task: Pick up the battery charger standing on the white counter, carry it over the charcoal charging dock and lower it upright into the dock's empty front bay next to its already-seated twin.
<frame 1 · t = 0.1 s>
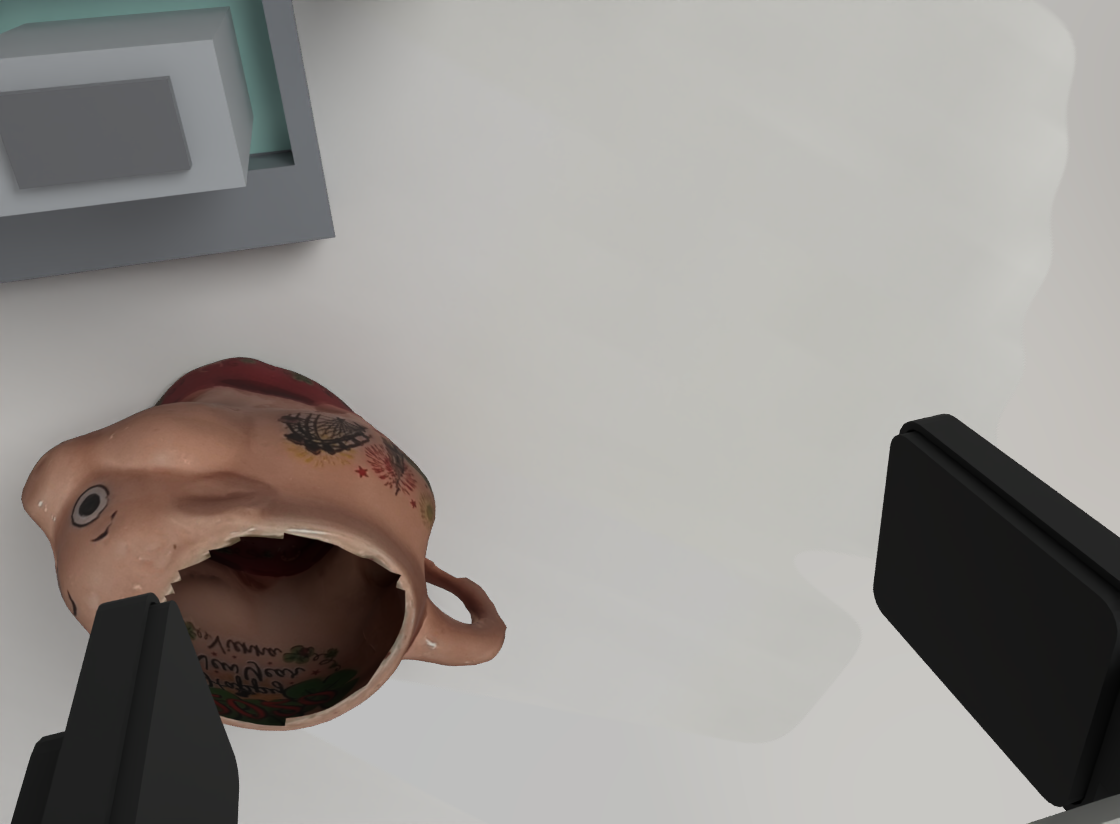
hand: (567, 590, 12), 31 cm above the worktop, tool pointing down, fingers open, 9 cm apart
decorative planter: (290, 452, 44), on the worktop
dock: (0, 82, 34), on the worktop
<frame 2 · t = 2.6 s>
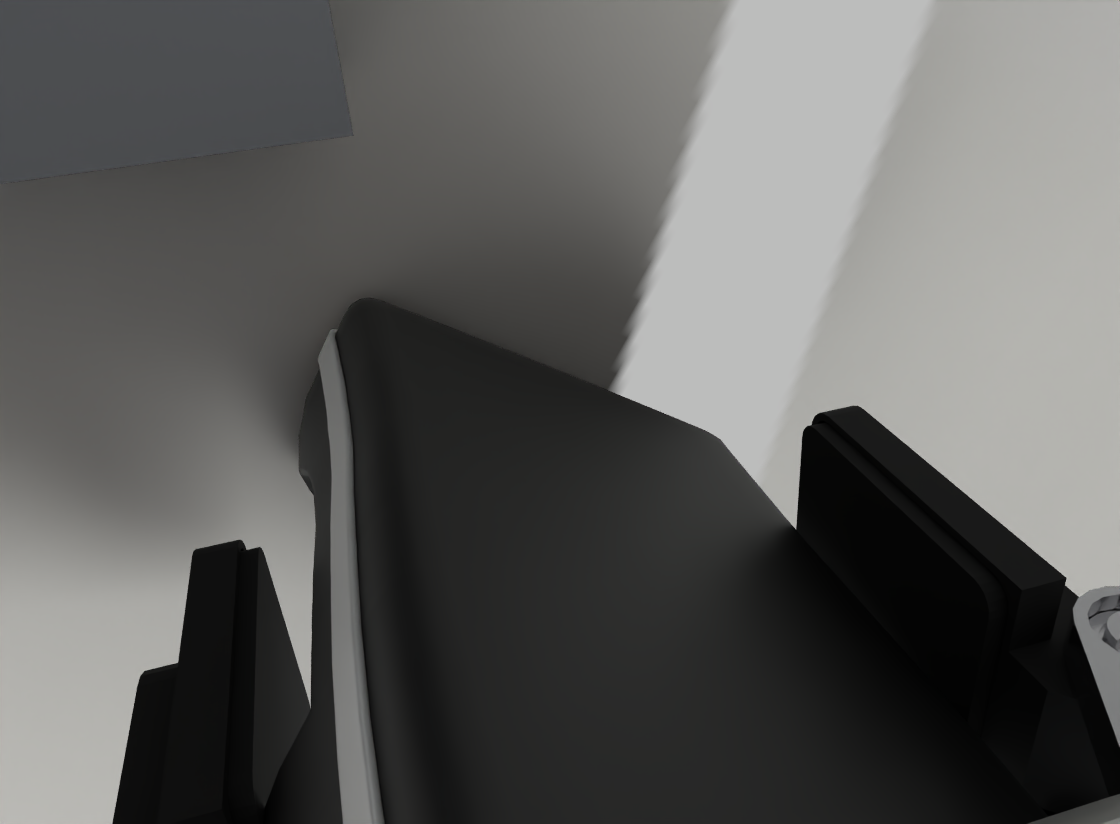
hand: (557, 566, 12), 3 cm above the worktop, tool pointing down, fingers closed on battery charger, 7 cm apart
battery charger: (495, 455, 15), on the worktop, touching gripper
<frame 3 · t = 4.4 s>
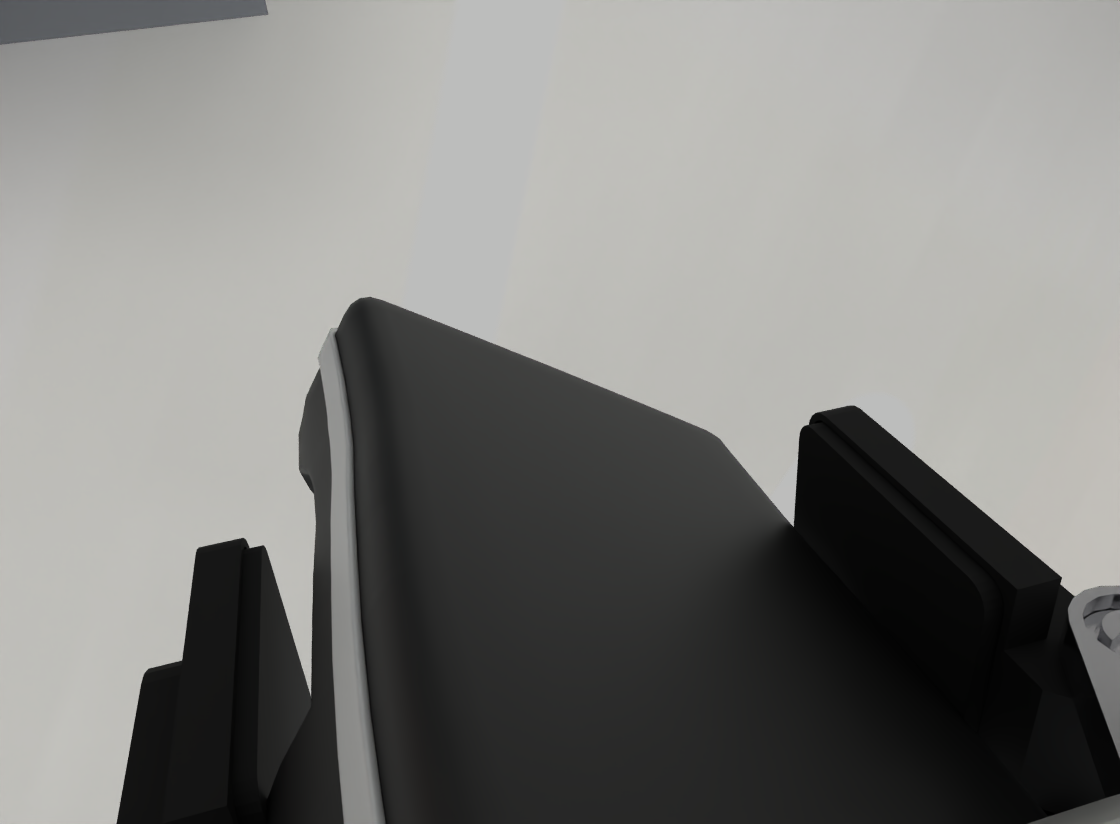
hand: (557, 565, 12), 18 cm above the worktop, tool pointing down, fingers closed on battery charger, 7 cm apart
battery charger: (495, 454, 15), point 15 cm above the worktop, touching gripper
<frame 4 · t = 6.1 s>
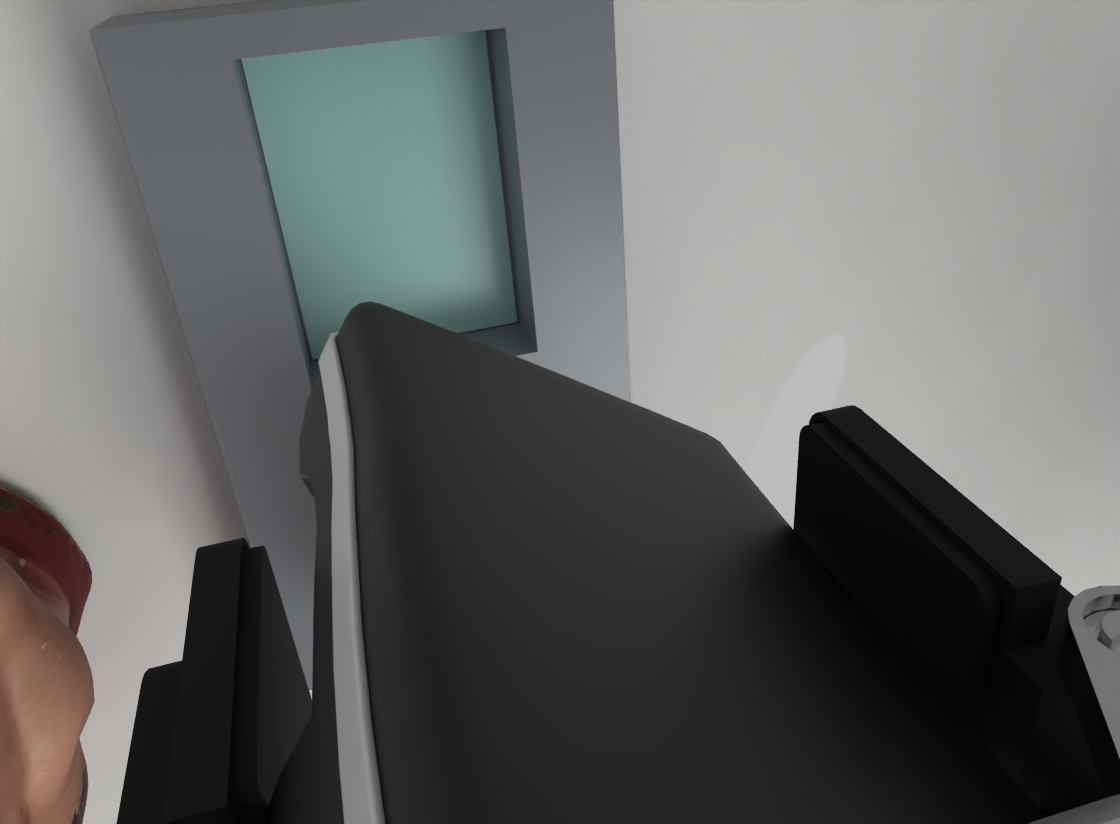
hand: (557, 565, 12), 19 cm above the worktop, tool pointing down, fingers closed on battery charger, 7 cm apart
dock: (415, 342, 31), on the worktop
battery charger: (496, 457, 15), point 16 cm above the worktop, touching gripper
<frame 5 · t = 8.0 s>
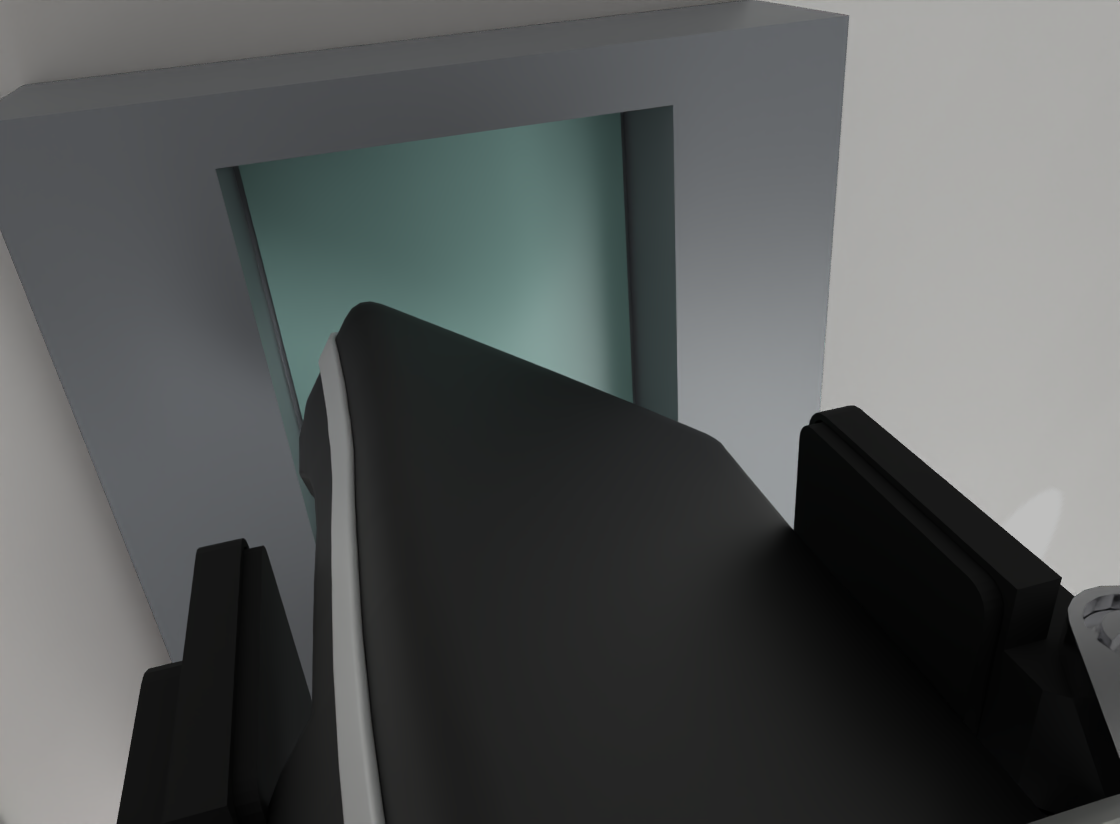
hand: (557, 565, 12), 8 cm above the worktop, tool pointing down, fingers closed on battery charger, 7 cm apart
dock: (488, 533, 22), on the worktop
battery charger: (496, 457, 15), point 5 cm above the worktop, touching gripper
when the fingers open (5 cm above the worktop, at t = 9.3 s): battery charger stays where it is, resting on dock.
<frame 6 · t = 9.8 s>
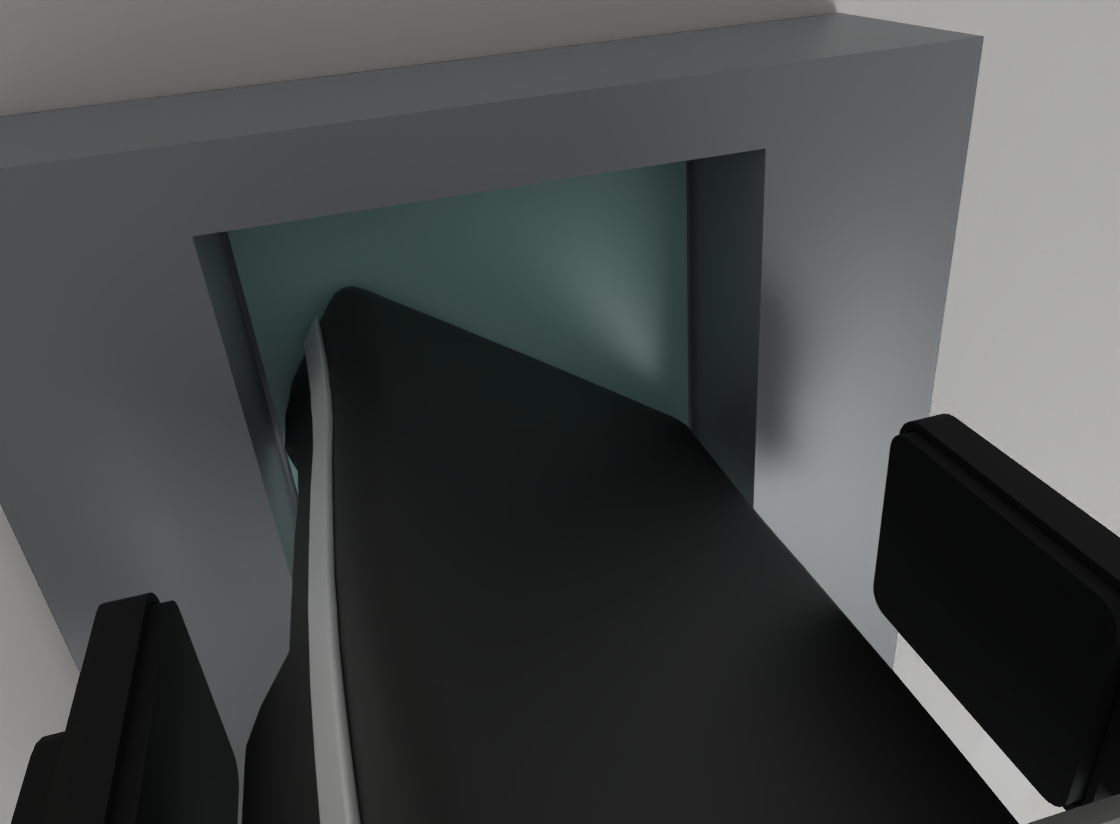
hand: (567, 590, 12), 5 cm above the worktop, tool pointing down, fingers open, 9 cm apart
dock: (516, 624, 19), on the worktop
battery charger: (473, 438, 15), point 1 cm above the worktop, touching dock
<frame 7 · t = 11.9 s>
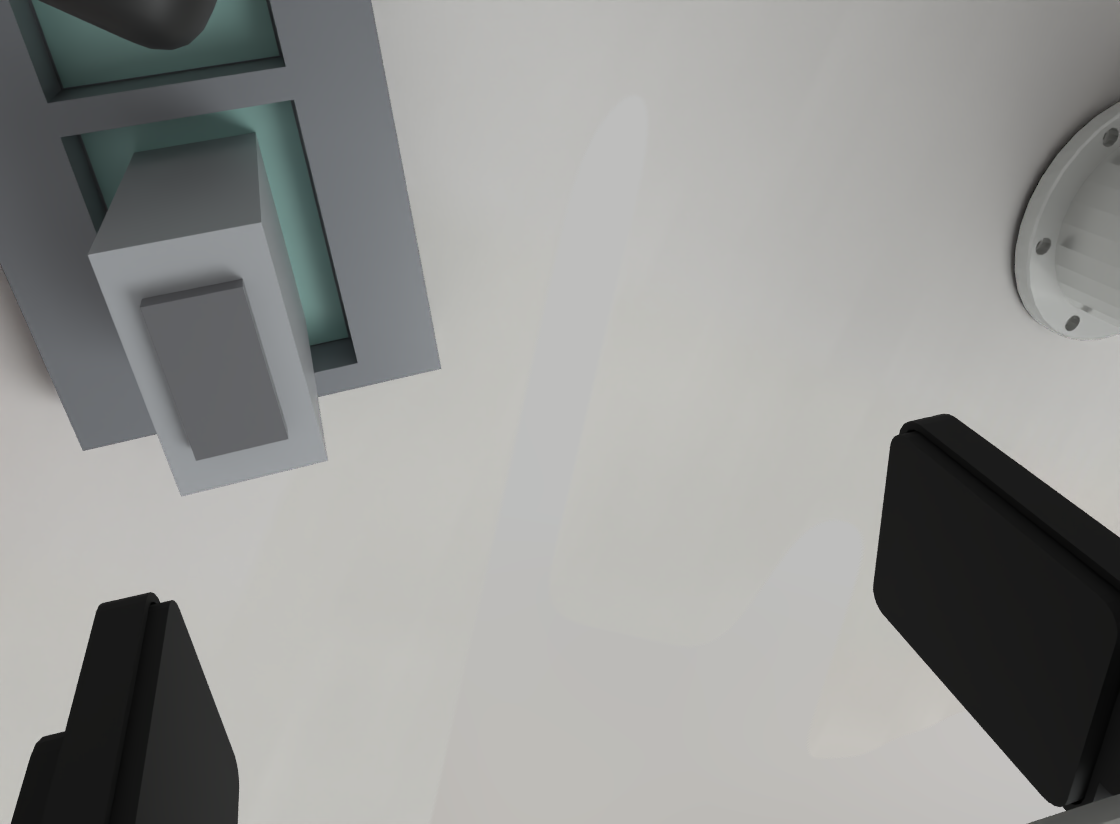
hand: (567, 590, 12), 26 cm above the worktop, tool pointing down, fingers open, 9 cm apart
dock: (181, 83, 31), on the worktop
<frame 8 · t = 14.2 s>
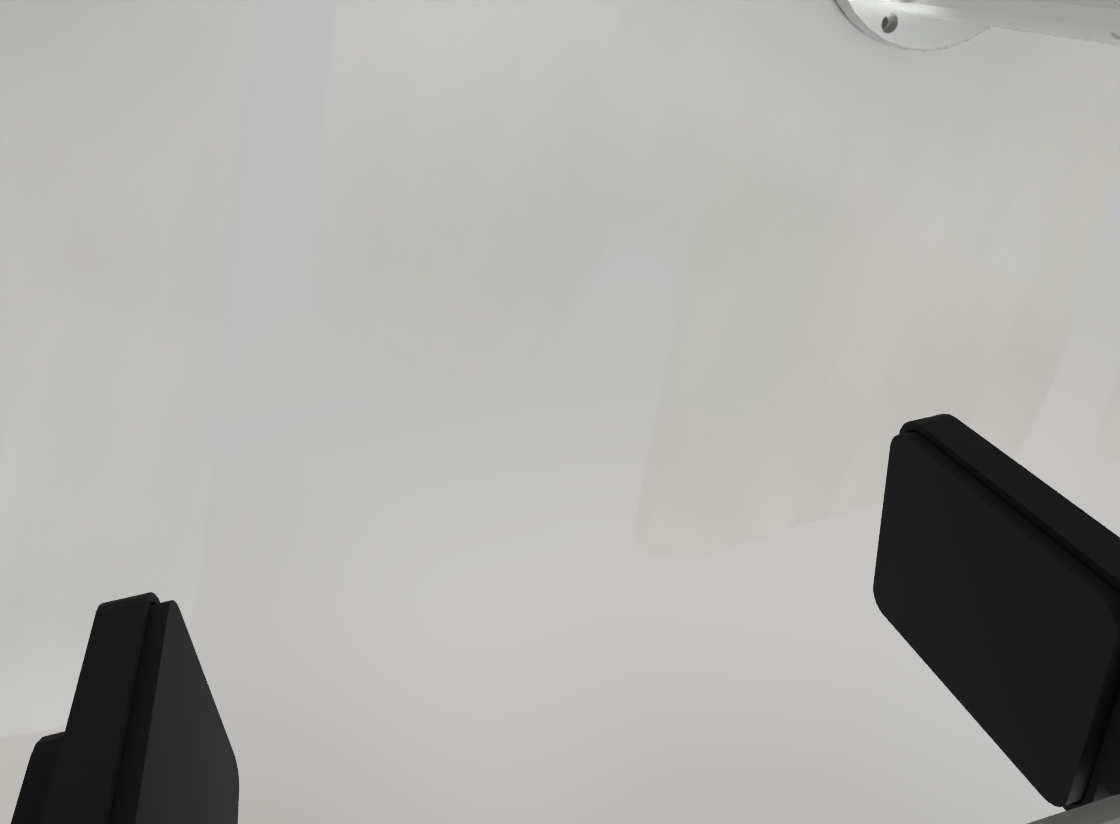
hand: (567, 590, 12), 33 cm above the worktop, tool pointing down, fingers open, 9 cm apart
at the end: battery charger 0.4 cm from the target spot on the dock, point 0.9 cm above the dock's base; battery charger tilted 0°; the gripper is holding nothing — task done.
